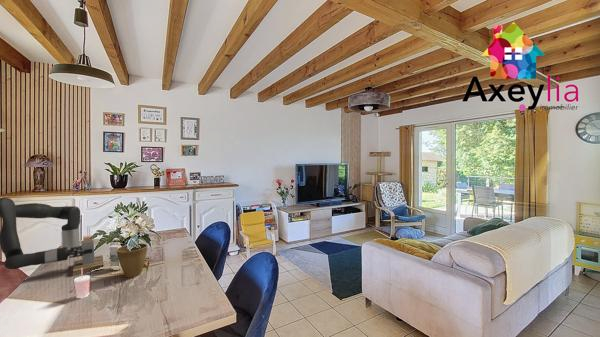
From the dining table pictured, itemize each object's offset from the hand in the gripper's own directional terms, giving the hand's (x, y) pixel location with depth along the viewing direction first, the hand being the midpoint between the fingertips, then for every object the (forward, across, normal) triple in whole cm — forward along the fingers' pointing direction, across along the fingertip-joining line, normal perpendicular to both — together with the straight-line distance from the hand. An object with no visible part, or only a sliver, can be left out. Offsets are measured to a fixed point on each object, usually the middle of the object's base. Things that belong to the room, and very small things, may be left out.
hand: (92, 248), depth 161 cm
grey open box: (-2, 0, +8) cm, 8 cm away
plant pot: (+18, -30, +11) cm, 37 cm away
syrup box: (+12, -14, +11) cm, 22 cm away
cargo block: (-2, 0, -4) cm, 4 cm away
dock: (-2, 0, +11) cm, 11 cm away
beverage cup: (-4, -42, +11) cm, 44 cm away
